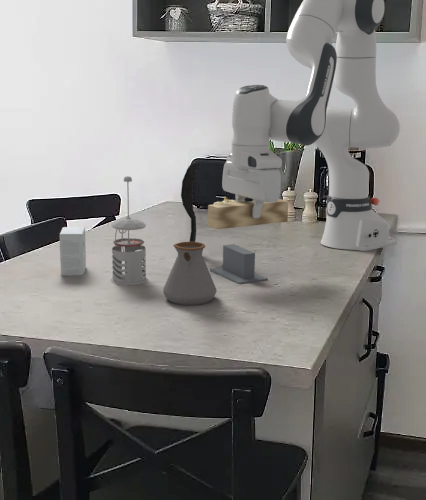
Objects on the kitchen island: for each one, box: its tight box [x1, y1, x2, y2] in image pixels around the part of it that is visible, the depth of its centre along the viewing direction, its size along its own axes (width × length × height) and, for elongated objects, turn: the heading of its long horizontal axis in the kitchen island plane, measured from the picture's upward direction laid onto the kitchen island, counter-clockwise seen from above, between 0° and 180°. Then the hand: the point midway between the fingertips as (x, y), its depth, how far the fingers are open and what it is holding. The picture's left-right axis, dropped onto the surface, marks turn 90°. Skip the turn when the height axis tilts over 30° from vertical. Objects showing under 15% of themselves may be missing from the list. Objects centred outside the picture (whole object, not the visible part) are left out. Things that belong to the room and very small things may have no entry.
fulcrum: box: [209, 243, 269, 285], centre depth 181 cm, size 8×14×7 cm, turn 29°
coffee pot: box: [162, 241, 217, 306], centre depth 155 cm, size 21×12×15 cm, turn 178°
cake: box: [213, 196, 236, 205], centre depth 263 cm, size 10×10×5 cm
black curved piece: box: [180, 161, 200, 242], centre depth 200 cm, size 8×4×25 cm, turn 166°
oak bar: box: [207, 198, 289, 230], centre depth 177 cm, size 20×4×5 cm, turn 121°
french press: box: [109, 175, 149, 286], centre depth 175 cm, size 10×12×25 cm
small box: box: [59, 226, 87, 276], centre depth 183 cm, size 8×6×10 cm
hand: (248, 215), depth 177 cm, fingers closed on oak bar, 4 cm apart
